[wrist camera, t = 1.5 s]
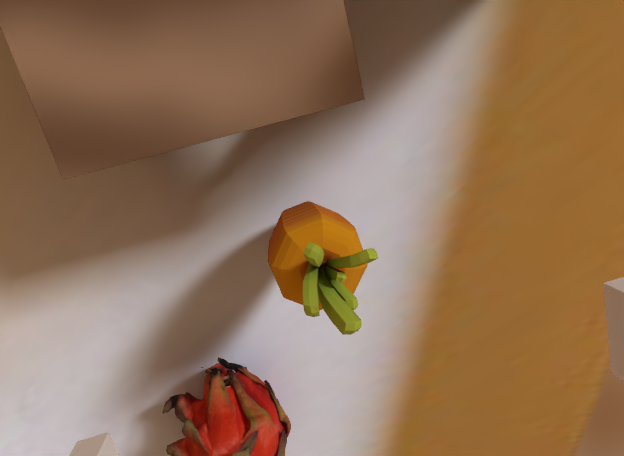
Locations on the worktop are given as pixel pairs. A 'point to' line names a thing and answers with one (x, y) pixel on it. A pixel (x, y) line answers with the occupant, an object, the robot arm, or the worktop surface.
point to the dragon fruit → (230, 416)
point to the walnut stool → (174, 70)
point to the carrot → (319, 262)
